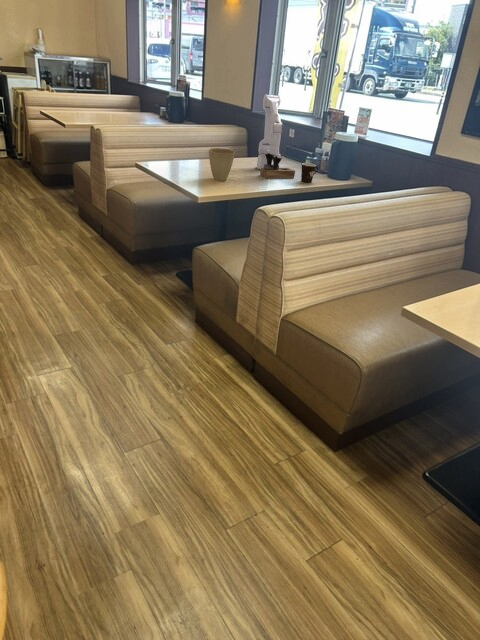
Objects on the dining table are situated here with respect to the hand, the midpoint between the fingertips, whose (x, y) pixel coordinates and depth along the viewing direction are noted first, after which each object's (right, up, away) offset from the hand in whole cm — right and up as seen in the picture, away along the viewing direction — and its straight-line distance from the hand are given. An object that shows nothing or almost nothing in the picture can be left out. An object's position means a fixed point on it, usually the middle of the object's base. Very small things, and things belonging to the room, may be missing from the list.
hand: (272, 167), depth 288 cm
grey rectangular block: (-1, -4, +2) cm, 4 cm away
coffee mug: (+23, -8, +1) cm, 24 cm away
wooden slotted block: (+4, -4, +5) cm, 7 cm away
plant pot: (-31, -12, -16) cm, 37 cm away
